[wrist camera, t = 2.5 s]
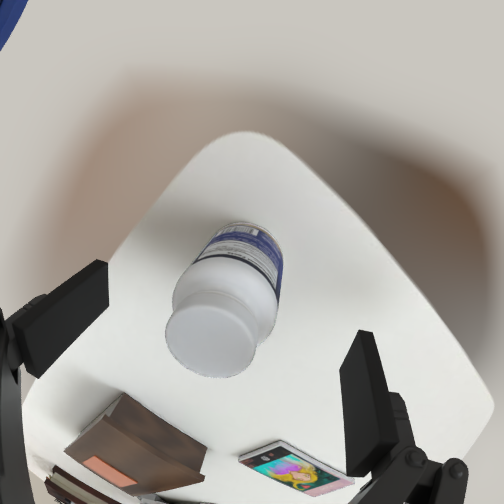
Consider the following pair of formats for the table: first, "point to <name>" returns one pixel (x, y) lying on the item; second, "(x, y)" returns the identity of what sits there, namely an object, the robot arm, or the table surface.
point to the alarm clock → (154, 499)
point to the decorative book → (73, 490)
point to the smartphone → (295, 469)
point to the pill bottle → (226, 301)
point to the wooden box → (138, 450)
